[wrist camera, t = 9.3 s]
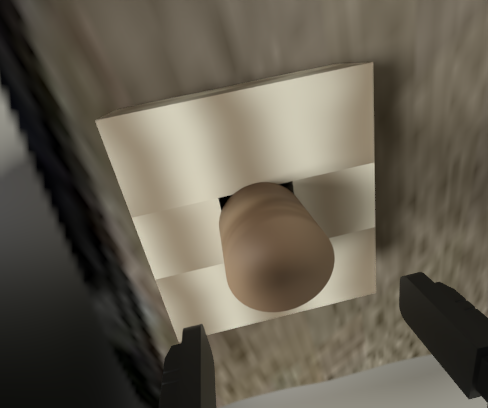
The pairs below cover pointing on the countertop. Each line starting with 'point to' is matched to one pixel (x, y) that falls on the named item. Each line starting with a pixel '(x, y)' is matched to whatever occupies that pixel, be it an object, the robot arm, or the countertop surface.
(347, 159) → the birch block
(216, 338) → the countertop surface
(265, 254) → the walnut peg
